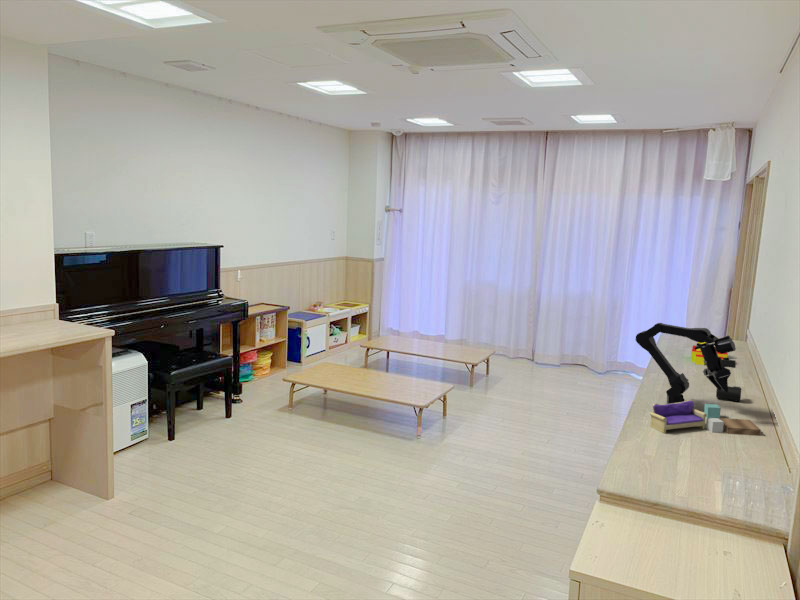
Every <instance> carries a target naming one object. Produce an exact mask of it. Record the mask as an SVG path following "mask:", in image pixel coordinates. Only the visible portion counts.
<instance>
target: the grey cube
mask: <svg viewBox="0 0 800 600" xmlns="http://www.w3.org/2000/svg"><path fill="white" fill-rule="evenodd" d="M723 424H724V422H723V421H722V420H720V419H718V418H707V417H706V420H705V429H706V430H707V431H709V432H711V433H724V429H723Z"/></svg>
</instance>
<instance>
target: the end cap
mask: <svg viewBox="0 0 800 600" xmlns="http://www.w3.org/2000/svg"><path fill="white" fill-rule="evenodd" d="M715 395H716V399H718V400H723V401H730V402H736V403H737V402H738V403H740V402H741V400H742V399H741V397H742V388H741V387H740V386H728V392H725V391H724V390H723V389H722V388H721V390H718V389H717V388H716V394H715Z"/></svg>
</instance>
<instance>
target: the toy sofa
mask: <svg viewBox="0 0 800 600" xmlns="http://www.w3.org/2000/svg"><path fill="white" fill-rule="evenodd" d="M694 405H695V403H694V401H693V400H691V399H687V400H684V402H679V403H671V404H667V403H666V404H665V403H663V404H660V403H659V404H658V403H653V404H652V411H650V412H649V415H650V427H651V428H652V429H654V430H656V431H658V432H660V433H662V434H666V433H667V430H674V429H685V428H691V427H692V428H693V427H697V428H700V429H702V430H705V429H706V418H707V417H706V416H707V414H706V413H704V411H700V410H698V409H696V408H694Z"/></svg>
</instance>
